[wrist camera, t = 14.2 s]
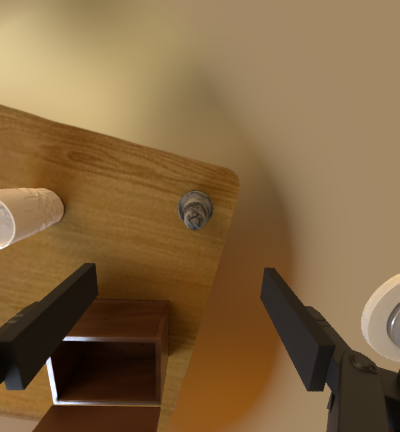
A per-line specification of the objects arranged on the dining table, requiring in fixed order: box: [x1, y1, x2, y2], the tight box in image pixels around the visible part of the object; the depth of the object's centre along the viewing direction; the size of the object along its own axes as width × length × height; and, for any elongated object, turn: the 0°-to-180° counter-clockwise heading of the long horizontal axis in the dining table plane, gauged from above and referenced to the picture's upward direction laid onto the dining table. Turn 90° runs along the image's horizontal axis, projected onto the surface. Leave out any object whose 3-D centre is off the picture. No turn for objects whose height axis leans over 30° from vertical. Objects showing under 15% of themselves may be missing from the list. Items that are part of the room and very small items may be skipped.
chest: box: [46, 299, 169, 405], centre depth 36 cm, size 15×19×9 cm
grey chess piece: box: [177, 190, 213, 230], centre depth 28 cm, size 6×6×12 cm
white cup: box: [0, 188, 64, 249], centre depth 28 cm, size 8×8×10 cm
